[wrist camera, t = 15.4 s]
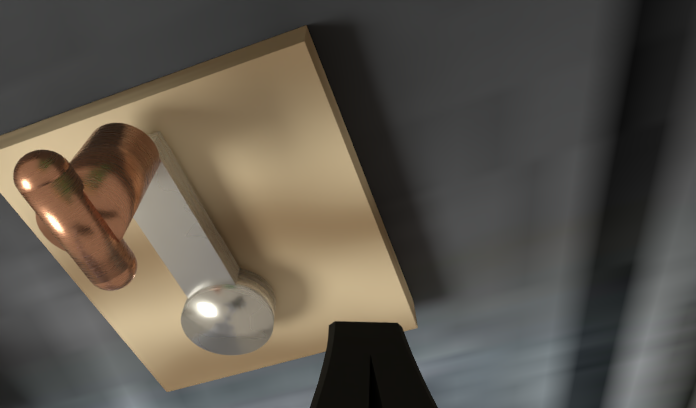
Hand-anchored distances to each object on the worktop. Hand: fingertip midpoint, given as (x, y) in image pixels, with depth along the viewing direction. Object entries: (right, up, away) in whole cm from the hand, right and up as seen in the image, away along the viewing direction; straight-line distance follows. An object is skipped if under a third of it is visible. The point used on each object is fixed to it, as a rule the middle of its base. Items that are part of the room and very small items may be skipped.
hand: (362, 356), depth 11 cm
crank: (-6, +2, +7) cm, 10 cm away
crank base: (-5, +2, +10) cm, 11 cm away
